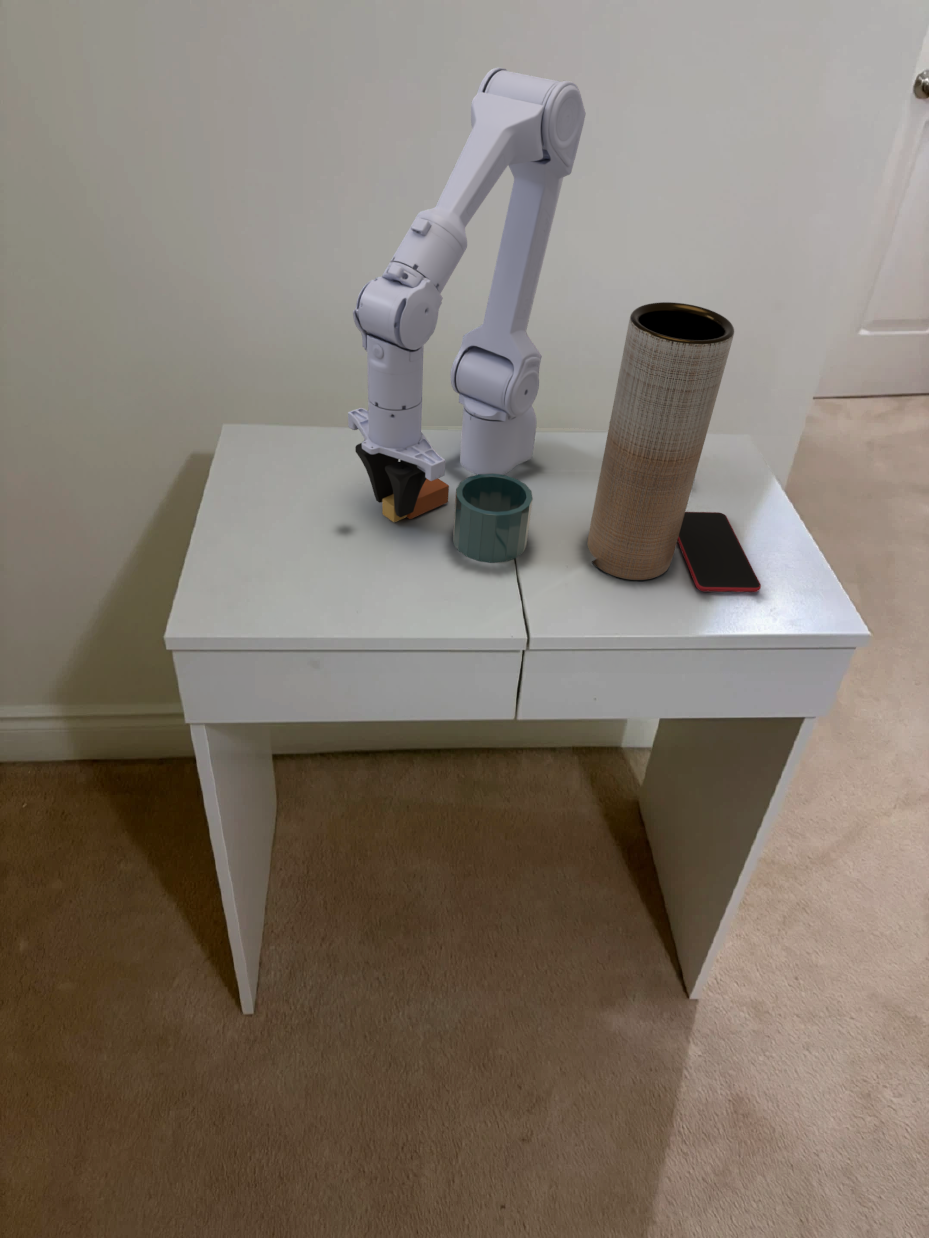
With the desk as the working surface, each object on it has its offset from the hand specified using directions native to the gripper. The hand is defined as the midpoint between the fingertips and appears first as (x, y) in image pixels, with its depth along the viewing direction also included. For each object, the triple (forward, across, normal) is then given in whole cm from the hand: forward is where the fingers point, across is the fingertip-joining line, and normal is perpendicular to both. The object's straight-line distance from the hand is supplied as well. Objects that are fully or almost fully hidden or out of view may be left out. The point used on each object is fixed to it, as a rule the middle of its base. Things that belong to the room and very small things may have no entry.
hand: (394, 506), depth 98 cm
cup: (+3, +10, +6) cm, 12 cm away
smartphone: (+3, +27, +26) cm, 38 cm away
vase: (+3, +21, +18) cm, 28 cm away
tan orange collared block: (+1, 0, +3) cm, 3 cm away
